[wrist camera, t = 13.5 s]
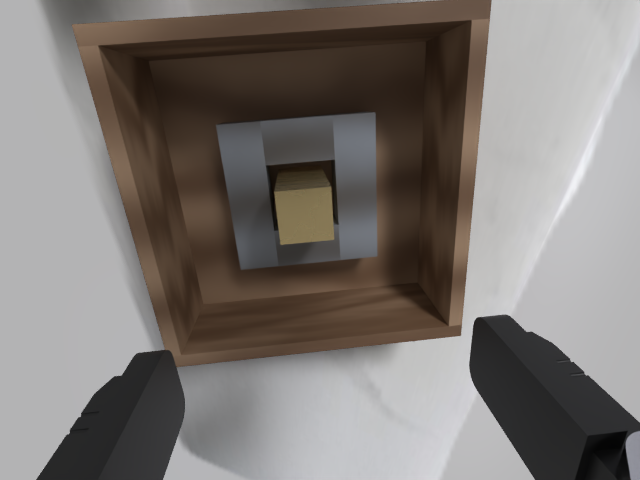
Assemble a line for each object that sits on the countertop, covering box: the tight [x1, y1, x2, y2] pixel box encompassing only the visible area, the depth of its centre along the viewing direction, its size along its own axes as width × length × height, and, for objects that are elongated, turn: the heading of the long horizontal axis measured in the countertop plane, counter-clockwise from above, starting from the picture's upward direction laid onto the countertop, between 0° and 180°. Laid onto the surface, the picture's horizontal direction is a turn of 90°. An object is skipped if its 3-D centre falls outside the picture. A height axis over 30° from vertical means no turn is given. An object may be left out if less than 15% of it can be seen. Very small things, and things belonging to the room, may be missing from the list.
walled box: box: [72, 0, 491, 367], centre depth 26 cm, size 22×22×8 cm
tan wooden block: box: [274, 165, 334, 245], centre depth 25 cm, size 3×3×8 cm
